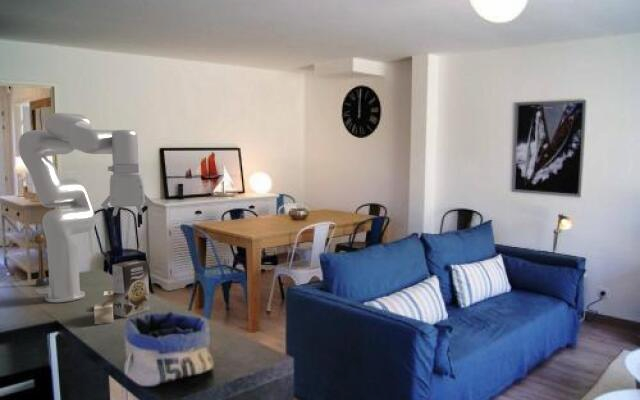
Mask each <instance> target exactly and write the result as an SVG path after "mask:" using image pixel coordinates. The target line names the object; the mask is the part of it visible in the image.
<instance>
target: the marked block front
mask: <svg viewBox="0 0 640 400" xmlns="http://www.w3.org/2000/svg"><path fill="white" fill-rule="evenodd" d="M93 312H94V313H93V314H94V316H93V317H94V325H95V324H98V325H104V324H103V323H107V324H113V323H114V309H113V302H111V303H104V302H103V303H95V304H94V307H93Z"/></svg>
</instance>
